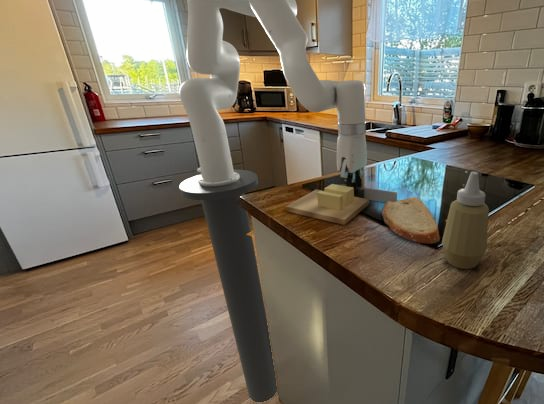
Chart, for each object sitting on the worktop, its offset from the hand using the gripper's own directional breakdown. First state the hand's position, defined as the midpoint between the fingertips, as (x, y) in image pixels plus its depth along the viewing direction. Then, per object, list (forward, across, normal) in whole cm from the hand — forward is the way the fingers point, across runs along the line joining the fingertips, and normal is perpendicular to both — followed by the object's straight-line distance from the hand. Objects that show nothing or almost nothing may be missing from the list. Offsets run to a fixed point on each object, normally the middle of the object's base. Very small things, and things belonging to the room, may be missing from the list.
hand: (354, 191), depth 88 cm
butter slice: (0, +12, 0) cm, 12 cm away
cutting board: (+2, +10, -3) cm, 10 cm away
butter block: (0, +7, -1) cm, 7 cm away
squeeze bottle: (+2, +19, +34) cm, 40 cm away
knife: (+2, 0, +4) cm, 5 cm away
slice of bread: (+2, +8, +20) cm, 22 cm away
